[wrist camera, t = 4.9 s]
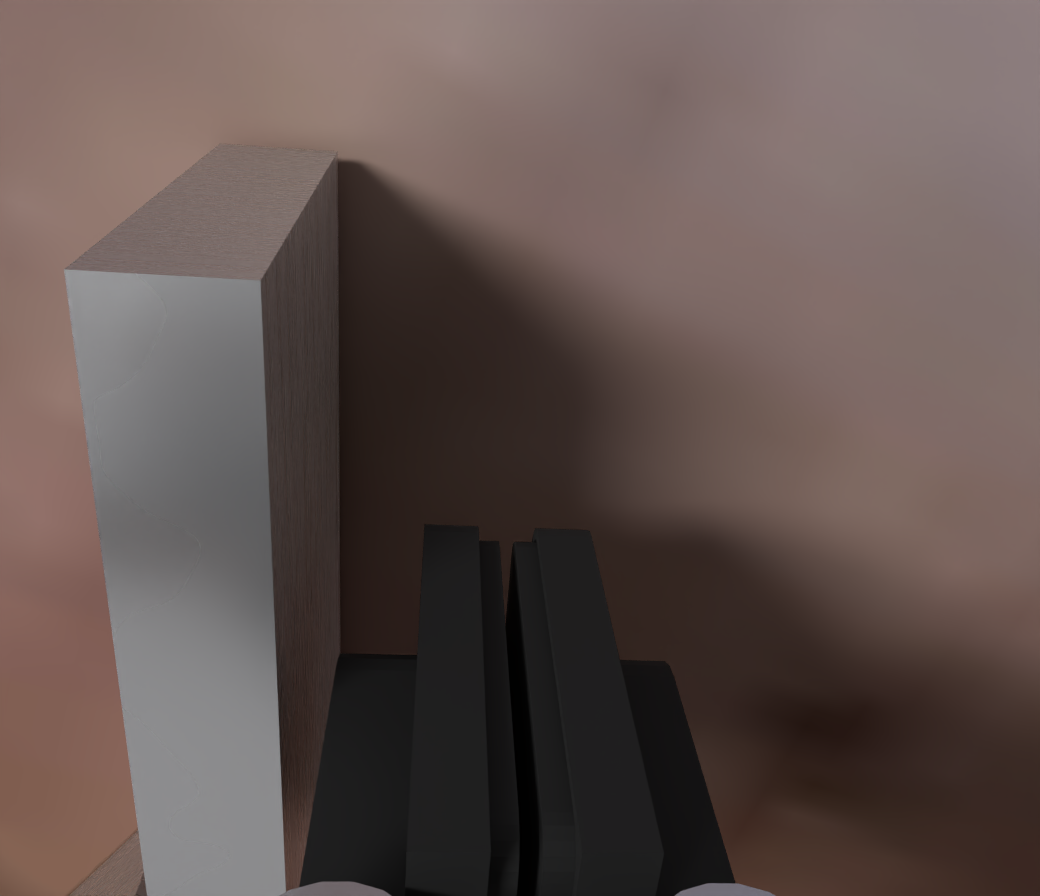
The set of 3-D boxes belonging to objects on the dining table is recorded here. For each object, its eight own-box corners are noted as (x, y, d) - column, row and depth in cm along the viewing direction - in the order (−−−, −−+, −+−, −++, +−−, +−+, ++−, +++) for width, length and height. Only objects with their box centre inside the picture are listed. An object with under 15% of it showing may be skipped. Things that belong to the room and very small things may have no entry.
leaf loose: (340, 764, 14) (294, 1090, 10) (255, 763, 14) (172, 1092, 10) (338, 151, 10) (260, 280, 6) (219, 143, 10) (63, 269, 6)
